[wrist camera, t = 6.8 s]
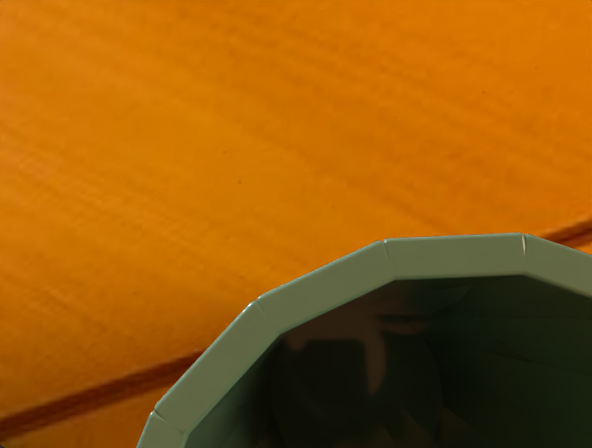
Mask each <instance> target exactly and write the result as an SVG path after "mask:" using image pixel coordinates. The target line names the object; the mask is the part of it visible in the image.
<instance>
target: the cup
mask: <svg viewBox="0 0 592 448" xmlns="http://www.w3.org/2000/svg"><path fill="white" fill-rule="evenodd" d="M136 448H592V255H591V254H588V253H585V252H582V251H579V250H576V249H573V248H570V247H567V246H564V245H561V244H558V243H555V242H552V241H549V240H546V239H543V238H540V237H537V236H534V235H531V234H524V235H523V234H522V233H519V232H515V233H492V234H470V235H448V236H425V237H403V238H387V239H384V240H383V241H375V242H373V243H371V244H369V245H367V246H365V247H362V248H360V249H358V250H356V251H354V252H352V253H350V254H347V255H345V256H343V257H341V258H339V259H337V260H335V261H332V262H330V263H328V264H326V265H324V266H322V267H320V268H317V269H315V270H313V271H311V272H309V273H307V274H304V275H302V276H300V277H298V278H296V279H294V280H292V281H289V282H287V283H285V284H283V285H281V286H279V287H277V288H274V289H272V290H270V291H268V292H266V293H264V294H262V295H259V296H258V298H257V301H256V300H254V301H251V302H250V303H249V304H248V305H247V306H246V307H245V309H244V310H243V311H242V312H241V313H240V314H239V315H238V316H237V317H236V318H235V319H234V320H233V321H232V323H231V324H230V325H229V326H228V327H227V328H226V329H225V330H224V331H223V332H222V333H221V334H220V335H219V337H218V338H217V339H216V340H215V341H214V342H213V343H212V344H211V345H210V346H209V347H208V348H207V349H206V351H205V352H204V353H203V354H202V355H201V356H200V357H199V358H198V359H197V360H196V361H195V362H194V364H193V365H192V366H191V367H190V368H189V369H188V370H187V371H186V372H185V373H184V374H183V375H182V376H181V378H180V379H179V380H178V381H177V382H176V383H175V384H174V385H173V386H172V387H171V388H170V389H169V390H168V392H167V393H166V394H165V395H164V396H163V397H162V398H161V399H160V400H159V401H158V402H157V403H156V405H155V407H154V410H153V411H152V412H151V413H150V414H149V416H148V419H147V421H146V424H145V426H144V429H143V431H142V434H141V436H140V438H139V441H138V443H137V446H136Z"/></svg>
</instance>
